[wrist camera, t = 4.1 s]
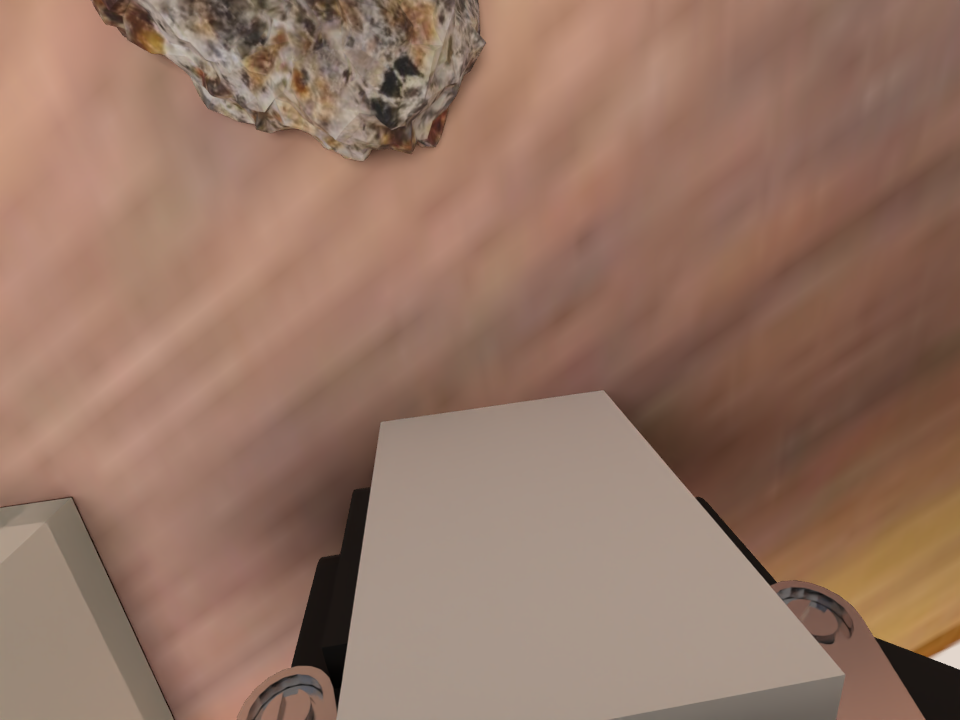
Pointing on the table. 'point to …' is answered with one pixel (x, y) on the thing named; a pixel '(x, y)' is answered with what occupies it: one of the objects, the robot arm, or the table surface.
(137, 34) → the mineral rock
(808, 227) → the table surface
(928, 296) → the table surface
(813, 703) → the stone block
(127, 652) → the sage bin
